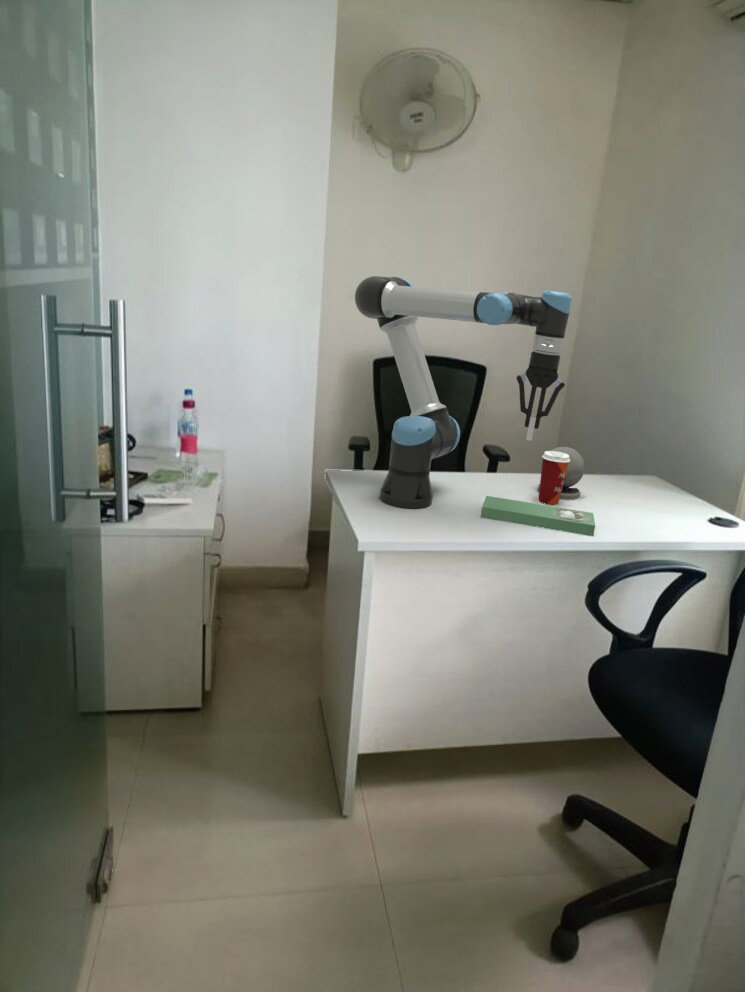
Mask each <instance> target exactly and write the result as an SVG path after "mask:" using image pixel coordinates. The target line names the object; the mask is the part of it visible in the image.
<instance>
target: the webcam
mask: <svg viewBox="0 0 745 992" xmlns="http://www.w3.org/2000/svg"><path fill="white" fill-rule="evenodd" d="M550 451H557V452H562V453H566V454H568V455H569V459H570V462H569V463H568V467H567V471H566V475H565V479H564V483H563V487H562V491H561V495H560V499H559V500H565V501H566V500H568V501H570V500H577V499H579V498H580V494H581V492H580V489H579V488H578V487H573V486H575V485H577V484H578V483H579V482H581V479H582V478H583V477H584V476H583V475H584V473H585V465H586V464H585V461H584V458H583V456H582V455H581V454H580V452H578V451H577V450H576V449H574V448H573V447H572V448H571V447H570V446H569V447H568V446H558V447H555V448H552V449H551V450H550ZM539 488H540V483H539V484H538V487H537V491H538V493H539Z"/></svg>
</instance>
